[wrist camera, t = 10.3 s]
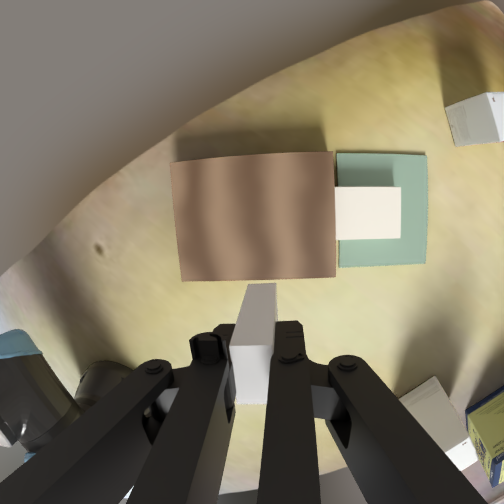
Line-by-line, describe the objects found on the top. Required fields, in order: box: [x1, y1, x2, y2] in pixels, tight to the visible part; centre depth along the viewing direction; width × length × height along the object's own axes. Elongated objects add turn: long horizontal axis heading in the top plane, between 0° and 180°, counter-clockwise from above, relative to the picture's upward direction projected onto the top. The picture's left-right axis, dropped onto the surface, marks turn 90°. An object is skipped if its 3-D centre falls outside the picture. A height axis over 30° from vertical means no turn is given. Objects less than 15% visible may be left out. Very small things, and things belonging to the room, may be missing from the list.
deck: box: [170, 151, 336, 281], centre depth 36 cm, size 18×14×4 cm
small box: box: [445, 92, 504, 147], centre depth 27 cm, size 8×6×10 cm
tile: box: [335, 186, 401, 240], centre depth 35 cm, size 8×6×2 cm
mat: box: [336, 153, 428, 268], centre depth 36 cm, size 12×14×1 cm
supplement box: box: [399, 376, 479, 471], centre depth 36 cm, size 9×9×15 cm
